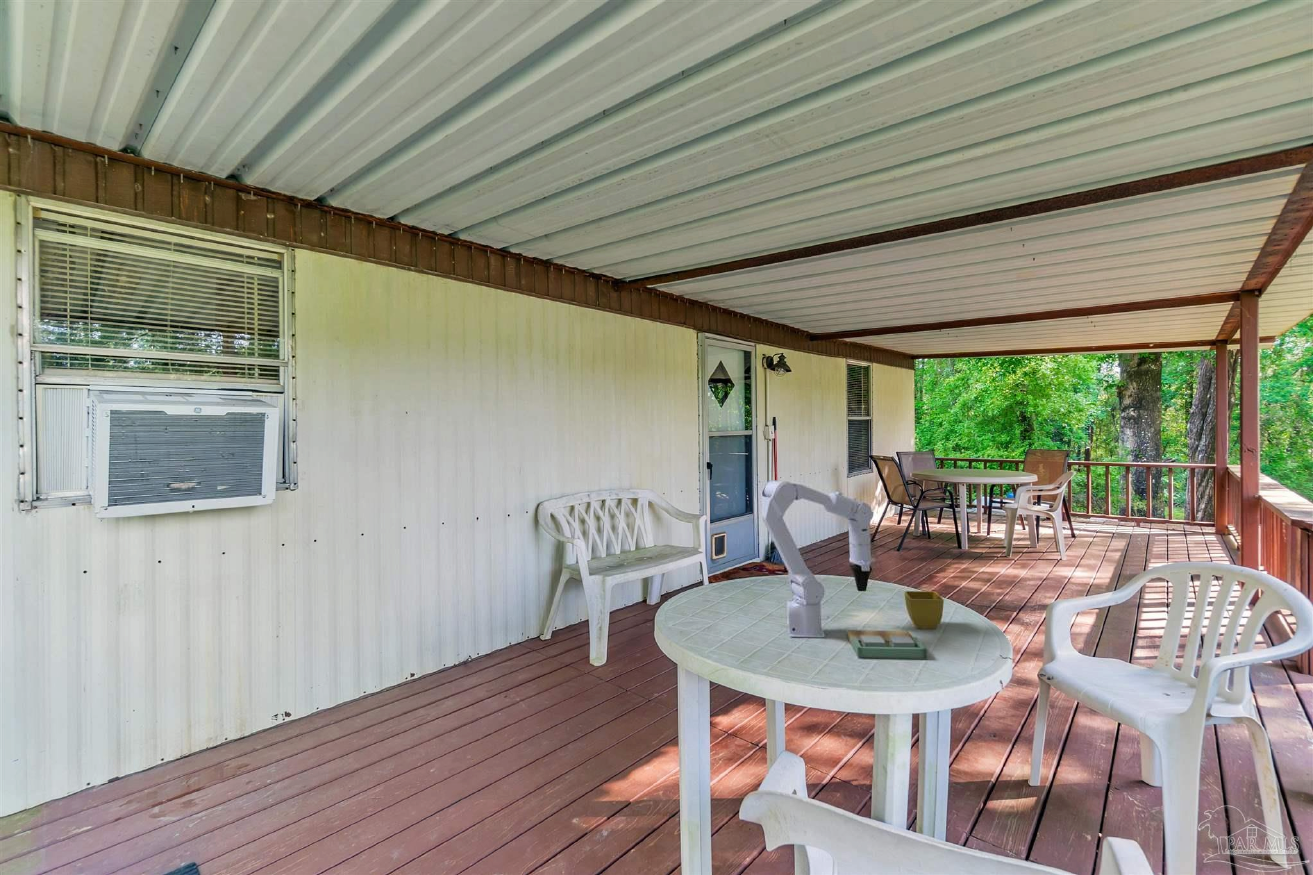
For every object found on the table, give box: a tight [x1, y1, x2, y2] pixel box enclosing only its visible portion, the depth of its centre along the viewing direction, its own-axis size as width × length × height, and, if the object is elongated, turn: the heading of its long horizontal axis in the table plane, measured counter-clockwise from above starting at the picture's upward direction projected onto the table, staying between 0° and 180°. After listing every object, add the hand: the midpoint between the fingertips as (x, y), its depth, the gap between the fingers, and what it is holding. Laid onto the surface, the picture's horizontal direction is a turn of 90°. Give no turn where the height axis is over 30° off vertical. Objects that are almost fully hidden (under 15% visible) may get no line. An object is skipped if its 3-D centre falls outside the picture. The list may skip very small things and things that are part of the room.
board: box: [846, 629, 913, 646], centre depth 153 cm, size 16×8×2 cm, turn 81°
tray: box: [851, 636, 928, 660], centre depth 145 cm, size 16×8×2 cm, turn 81°
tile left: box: [861, 636, 886, 647], centre depth 147 cm, size 5×5×2 cm
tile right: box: [889, 636, 915, 648], centre depth 146 cm, size 5×5×2 cm
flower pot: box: [903, 590, 945, 630], centre depth 164 cm, size 9×9×9 cm
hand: (861, 590), depth 165 cm, fingers closed
